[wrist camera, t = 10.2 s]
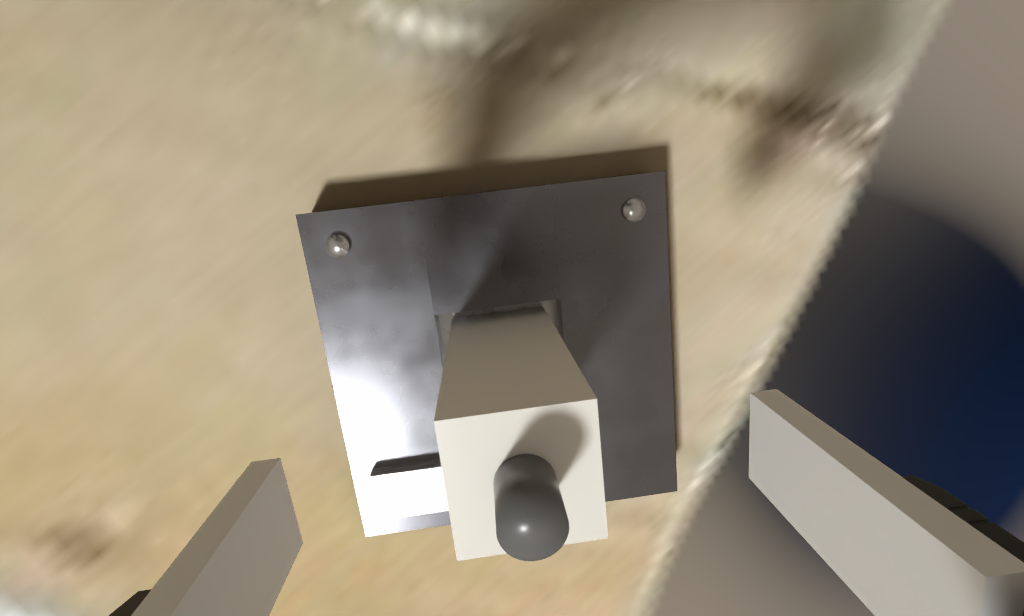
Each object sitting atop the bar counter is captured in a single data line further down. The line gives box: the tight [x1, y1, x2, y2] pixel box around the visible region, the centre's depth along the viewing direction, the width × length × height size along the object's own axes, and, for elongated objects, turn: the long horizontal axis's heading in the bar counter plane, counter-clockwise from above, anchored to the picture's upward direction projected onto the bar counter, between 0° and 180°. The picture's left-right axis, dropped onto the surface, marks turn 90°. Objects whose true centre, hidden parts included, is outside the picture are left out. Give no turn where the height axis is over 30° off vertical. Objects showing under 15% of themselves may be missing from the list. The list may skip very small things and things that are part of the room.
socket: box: [296, 171, 677, 537], centre depth 24 cm, size 16×16×3 cm
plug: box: [434, 307, 608, 561], centre depth 18 cm, size 4×4×13 cm
